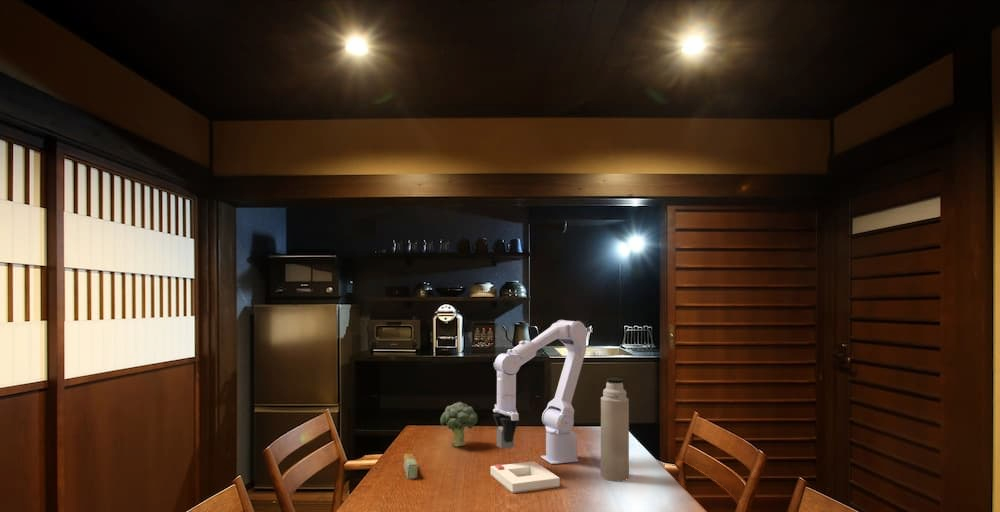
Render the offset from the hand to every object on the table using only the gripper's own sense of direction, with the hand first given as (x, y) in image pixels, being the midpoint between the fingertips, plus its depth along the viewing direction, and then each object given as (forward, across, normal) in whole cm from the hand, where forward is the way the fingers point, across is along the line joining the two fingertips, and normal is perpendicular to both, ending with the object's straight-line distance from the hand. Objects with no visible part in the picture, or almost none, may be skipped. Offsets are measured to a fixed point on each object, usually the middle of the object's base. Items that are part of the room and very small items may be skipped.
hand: (505, 439), depth 170 cm
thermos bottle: (+9, +17, +27) cm, 33 cm away
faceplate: (+8, +12, +1) cm, 15 cm away
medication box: (+9, -6, -28) cm, 30 cm away
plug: (+2, 0, 0) cm, 2 cm away
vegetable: (+9, -28, -6) cm, 30 cm away
